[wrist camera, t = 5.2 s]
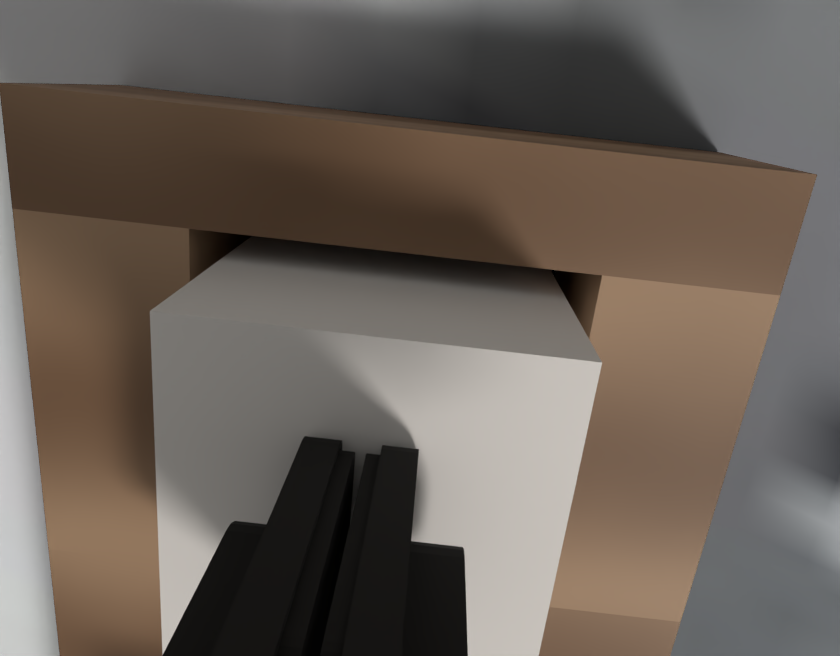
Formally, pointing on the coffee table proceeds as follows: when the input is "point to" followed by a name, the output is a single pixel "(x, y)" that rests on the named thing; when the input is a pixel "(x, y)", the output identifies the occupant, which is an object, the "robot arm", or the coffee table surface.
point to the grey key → (376, 409)
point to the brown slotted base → (406, 233)
